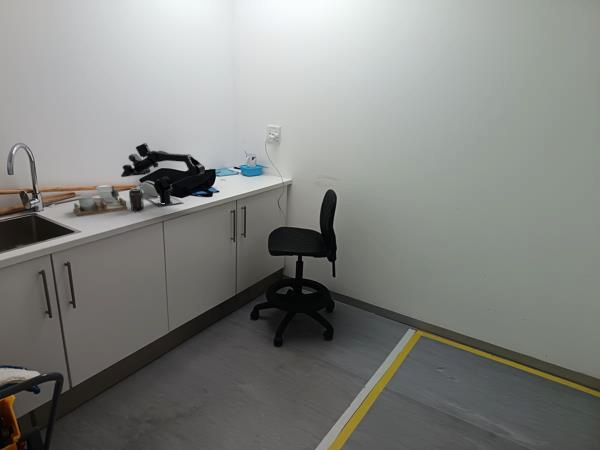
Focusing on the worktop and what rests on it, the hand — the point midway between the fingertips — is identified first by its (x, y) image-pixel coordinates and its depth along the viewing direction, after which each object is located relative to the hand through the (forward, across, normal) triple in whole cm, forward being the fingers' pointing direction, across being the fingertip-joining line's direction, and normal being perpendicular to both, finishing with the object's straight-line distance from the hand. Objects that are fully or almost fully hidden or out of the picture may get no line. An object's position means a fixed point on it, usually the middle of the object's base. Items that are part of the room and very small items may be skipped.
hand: (127, 175), depth 238 cm
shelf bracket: (+13, +8, +11) cm, 18 cm away
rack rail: (+6, +24, +16) cm, 29 cm away
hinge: (+2, -15, +14) cm, 21 cm away
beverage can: (-8, +15, +24) cm, 29 cm away
